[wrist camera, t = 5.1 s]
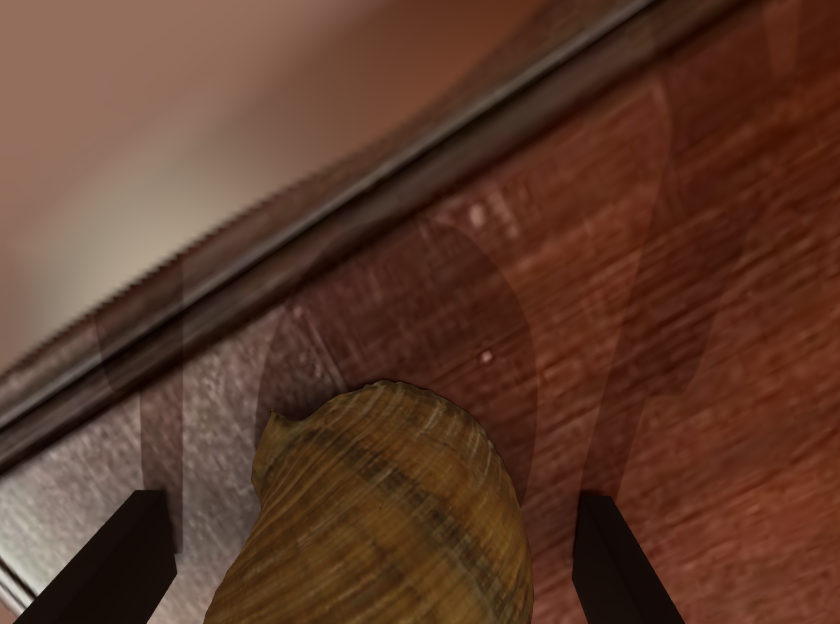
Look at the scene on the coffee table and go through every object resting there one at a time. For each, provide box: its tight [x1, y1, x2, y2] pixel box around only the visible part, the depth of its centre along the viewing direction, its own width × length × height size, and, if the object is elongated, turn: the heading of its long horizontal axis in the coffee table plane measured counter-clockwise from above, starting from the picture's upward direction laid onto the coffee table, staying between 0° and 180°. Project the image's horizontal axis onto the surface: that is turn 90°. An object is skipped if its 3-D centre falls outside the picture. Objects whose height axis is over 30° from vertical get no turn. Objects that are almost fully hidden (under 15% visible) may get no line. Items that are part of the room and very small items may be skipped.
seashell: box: [203, 380, 534, 624], centre depth 11 cm, size 10×7×8 cm
